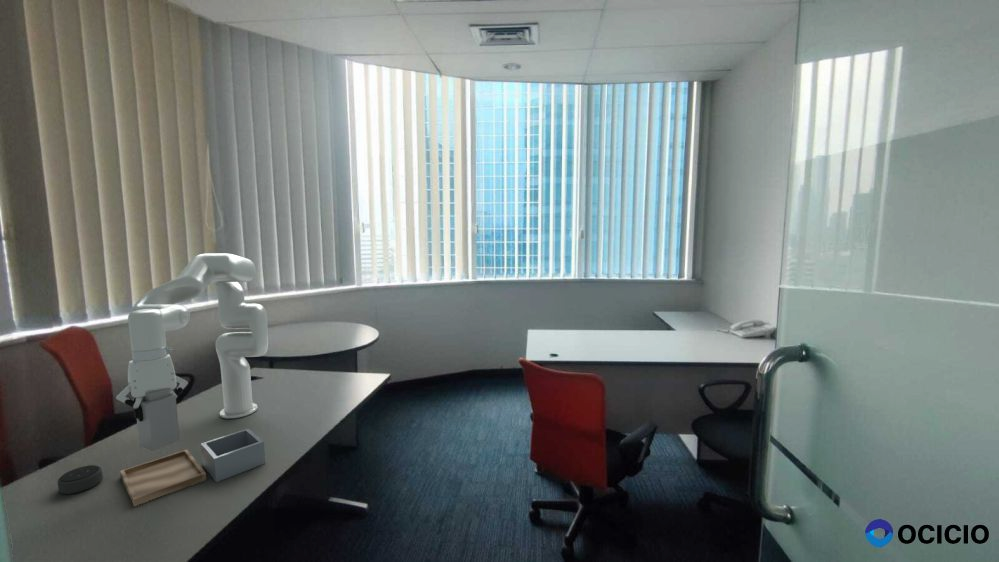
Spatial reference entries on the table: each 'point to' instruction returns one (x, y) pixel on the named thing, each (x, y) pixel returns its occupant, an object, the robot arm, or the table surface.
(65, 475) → the smart speaker
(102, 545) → the table surface
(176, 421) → the perfume bottle
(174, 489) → the tray
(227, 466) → the grey storage bin
